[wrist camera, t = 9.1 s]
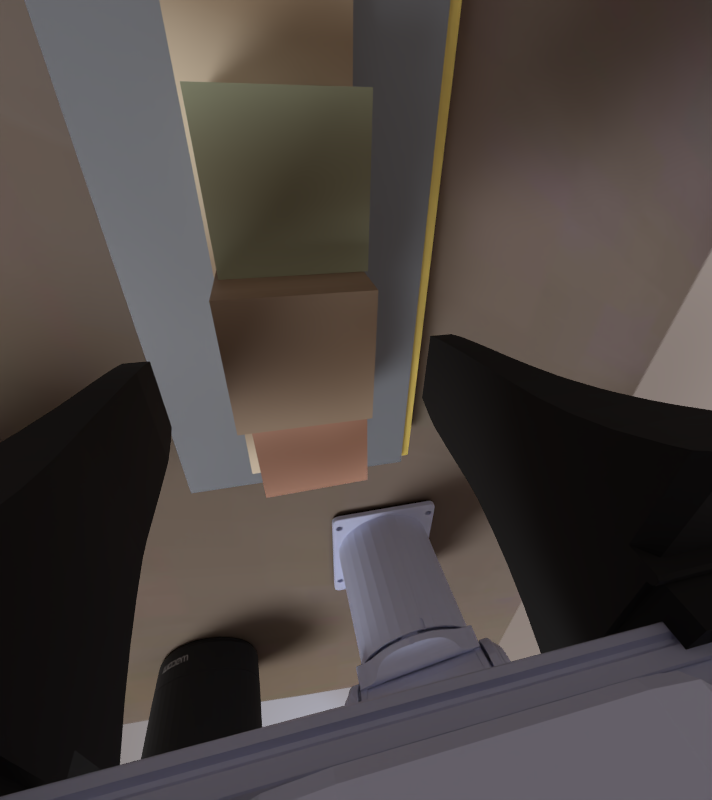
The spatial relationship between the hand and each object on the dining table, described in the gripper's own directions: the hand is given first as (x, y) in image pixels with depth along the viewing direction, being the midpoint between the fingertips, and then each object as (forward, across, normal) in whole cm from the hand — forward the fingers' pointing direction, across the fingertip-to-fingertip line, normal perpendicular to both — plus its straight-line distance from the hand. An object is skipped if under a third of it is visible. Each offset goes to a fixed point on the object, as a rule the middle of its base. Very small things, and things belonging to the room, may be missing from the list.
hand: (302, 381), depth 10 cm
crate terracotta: (+6, 0, +4) cm, 7 cm away
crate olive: (+6, 0, -4) cm, 7 cm away
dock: (+10, 0, 0) cm, 10 cm away
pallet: (+7, 0, 0) cm, 7 cm away
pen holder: (+10, +10, +36) cm, 39 cm away
